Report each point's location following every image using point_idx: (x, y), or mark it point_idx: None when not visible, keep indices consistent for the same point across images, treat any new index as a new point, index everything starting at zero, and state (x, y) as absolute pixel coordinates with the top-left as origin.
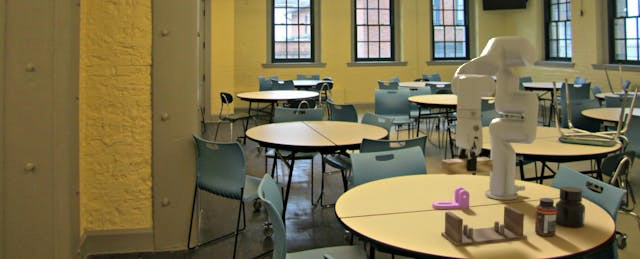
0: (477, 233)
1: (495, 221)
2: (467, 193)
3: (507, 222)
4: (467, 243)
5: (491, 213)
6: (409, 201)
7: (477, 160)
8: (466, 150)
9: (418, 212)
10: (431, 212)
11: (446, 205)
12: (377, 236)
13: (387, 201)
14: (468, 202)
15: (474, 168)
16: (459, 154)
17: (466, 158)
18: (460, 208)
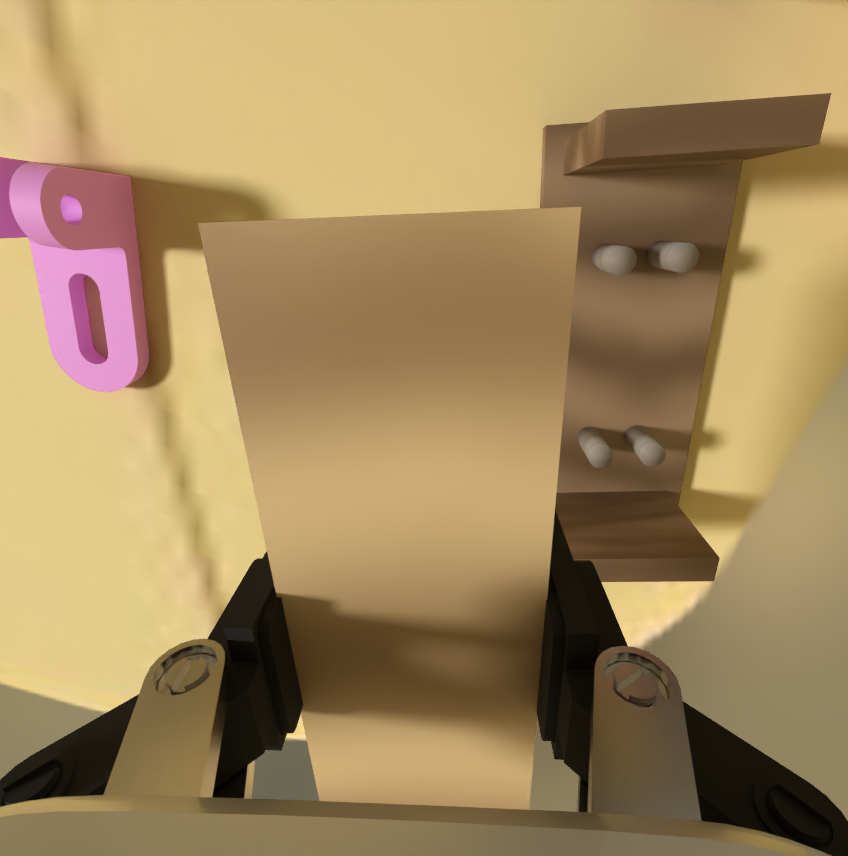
0: (600, 377)
1: (611, 264)
2: (55, 183)
3: (616, 167)
4: (681, 472)
5: (247, 69)
6: (13, 457)
7: (523, 554)
8: (217, 757)
9: (204, 484)
10: (206, 427)
11: (128, 328)
12: None
13: (25, 549)
14: (104, 178)
15: (586, 566)
16: (253, 761)
17: (308, 625)
18: (136, 237)
